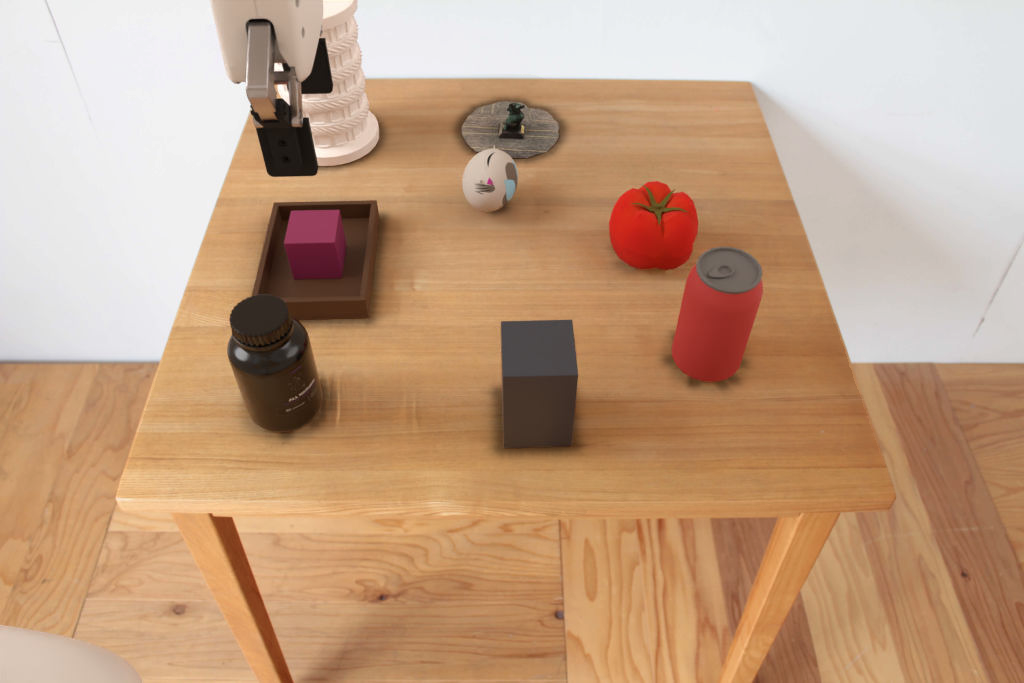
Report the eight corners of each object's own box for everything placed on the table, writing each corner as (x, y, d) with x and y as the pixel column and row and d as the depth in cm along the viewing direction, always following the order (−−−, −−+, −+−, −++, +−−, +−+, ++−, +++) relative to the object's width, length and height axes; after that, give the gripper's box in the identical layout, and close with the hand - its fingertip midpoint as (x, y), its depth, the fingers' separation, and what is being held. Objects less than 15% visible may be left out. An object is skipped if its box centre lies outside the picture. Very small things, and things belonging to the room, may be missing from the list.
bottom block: (571, 446, 75) (578, 374, 67) (503, 448, 75) (502, 376, 67) (566, 392, 79) (572, 319, 71) (501, 394, 79) (500, 320, 71)
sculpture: (576, 144, 104) (542, 115, 98) (525, 197, 107) (488, 172, 101) (530, 90, 111) (495, 60, 105) (483, 142, 114) (445, 115, 107)
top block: (342, 278, 88) (334, 242, 84) (293, 279, 88) (283, 243, 84) (346, 245, 91) (339, 209, 87) (299, 246, 91) (290, 210, 87)
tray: (368, 318, 85) (365, 300, 83) (255, 320, 85) (249, 302, 83) (379, 218, 95) (376, 200, 93) (278, 220, 95) (273, 202, 93)
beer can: (657, 345, 83) (675, 253, 74) (716, 325, 84) (740, 233, 75) (693, 394, 79) (717, 304, 70) (753, 373, 80) (784, 282, 71)
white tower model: (295, 109, 109) (264, -30, 95) (385, 111, 109) (367, -28, 95) (275, 165, 101) (238, 22, 88) (372, 167, 101) (350, 24, 87)
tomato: (592, 243, 92) (597, 188, 87) (659, 217, 95) (668, 162, 89) (642, 297, 87) (651, 242, 81) (711, 267, 90) (725, 212, 84)
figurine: (508, 233, 93) (508, 184, 88) (455, 225, 94) (452, 176, 89) (524, 188, 98) (525, 139, 93) (474, 181, 99) (472, 132, 94)
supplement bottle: (318, 436, 76) (291, 347, 66) (241, 434, 76) (204, 346, 67) (330, 375, 80) (307, 285, 71) (258, 374, 80) (226, 283, 71)
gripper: (207, -194, 51) (266, 66, 64) (133, -78, 40) (224, 212, 52) (332, -196, 51) (367, 64, 64) (296, -80, 40) (347, 209, 52)
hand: (303, 130), depth 58 cm, fingers open, 9 cm apart
